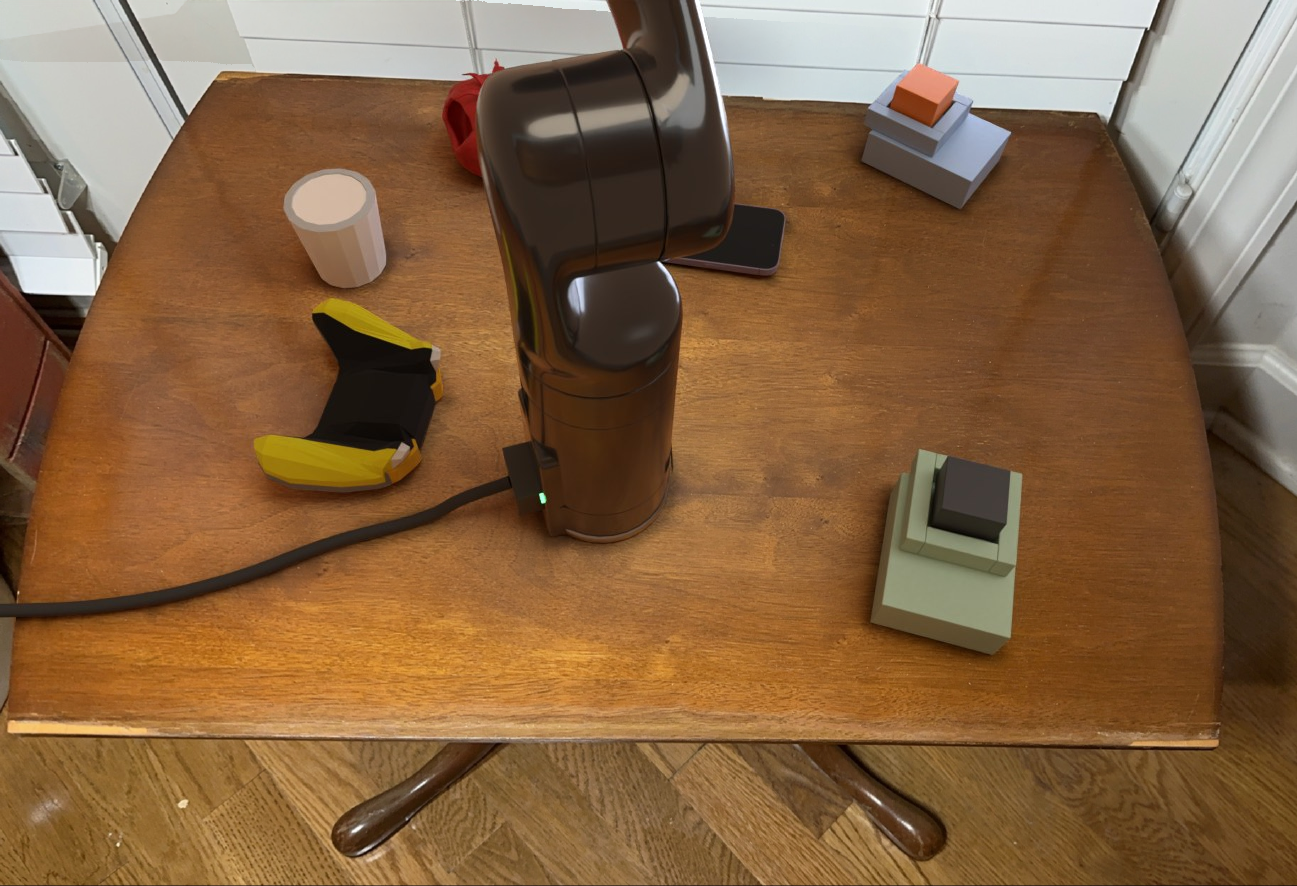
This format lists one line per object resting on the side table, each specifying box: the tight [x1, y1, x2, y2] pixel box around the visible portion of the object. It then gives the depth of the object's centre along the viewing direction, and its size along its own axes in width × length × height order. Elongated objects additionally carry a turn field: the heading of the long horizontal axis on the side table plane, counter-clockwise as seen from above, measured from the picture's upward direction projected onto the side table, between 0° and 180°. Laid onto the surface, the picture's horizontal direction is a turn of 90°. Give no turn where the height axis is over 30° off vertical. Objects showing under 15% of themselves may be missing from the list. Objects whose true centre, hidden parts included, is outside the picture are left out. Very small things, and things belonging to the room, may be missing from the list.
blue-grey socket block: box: [861, 69, 1012, 210], centre depth 82 cm, size 11×8×5 cm
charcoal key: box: [930, 455, 1012, 542], centre depth 58 cm, size 4×4×2 cm
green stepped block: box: [869, 448, 1023, 656], centre depth 60 cm, size 11×8×5 cm
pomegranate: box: [441, 58, 505, 178], centre depth 79 cm, size 10×10×9 cm
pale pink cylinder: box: [282, 167, 387, 289], centre depth 72 cm, size 7×7×7 cm
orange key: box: [890, 62, 960, 127], centre depth 80 cm, size 4×4×3 cm
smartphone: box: [661, 203, 786, 277], centre depth 78 cm, size 7×1×15 cm
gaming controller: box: [253, 297, 444, 493], centre depth 65 cm, size 15×6×10 cm
